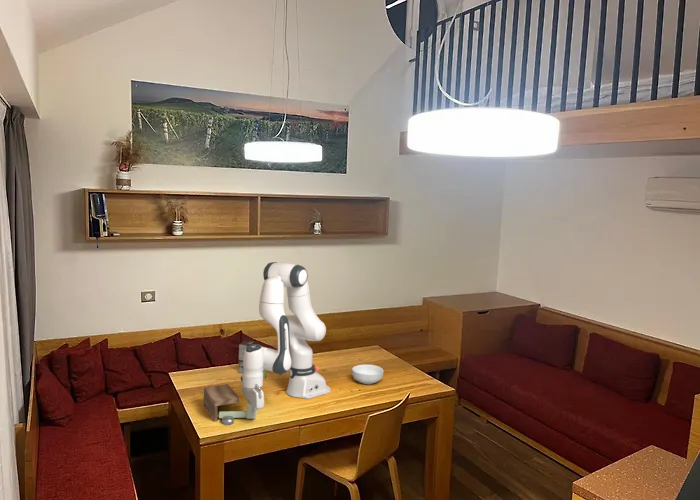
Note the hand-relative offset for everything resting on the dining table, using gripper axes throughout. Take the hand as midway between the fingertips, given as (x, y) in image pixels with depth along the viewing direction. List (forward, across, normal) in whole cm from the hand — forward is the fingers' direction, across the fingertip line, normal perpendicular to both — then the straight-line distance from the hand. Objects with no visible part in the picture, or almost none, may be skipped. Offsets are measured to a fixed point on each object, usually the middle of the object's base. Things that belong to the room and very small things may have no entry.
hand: (252, 410), depth 248 cm
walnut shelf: (+3, +12, +11) cm, 17 cm away
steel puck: (+3, 0, +11) cm, 12 cm away
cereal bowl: (+4, +18, -71) cm, 73 cm away
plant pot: (+4, +47, -21) cm, 51 cm away
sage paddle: (+3, +2, +6) cm, 7 cm away
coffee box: (+4, +59, -18) cm, 61 cm away
